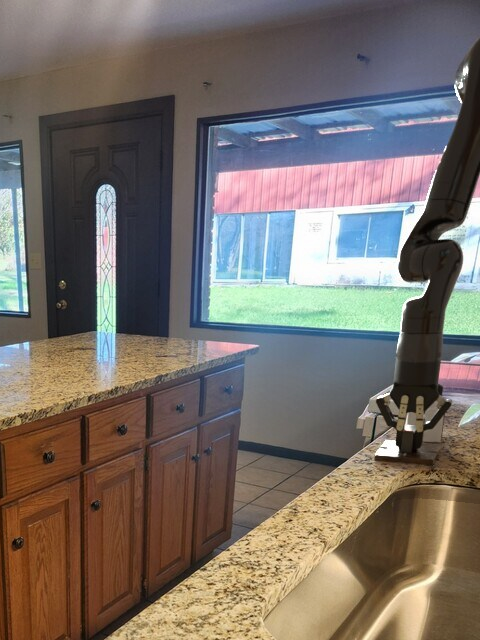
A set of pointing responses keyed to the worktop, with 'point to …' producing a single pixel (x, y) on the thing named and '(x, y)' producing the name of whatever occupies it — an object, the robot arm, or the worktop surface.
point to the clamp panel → (408, 454)
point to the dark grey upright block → (408, 439)
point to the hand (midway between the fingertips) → (408, 449)
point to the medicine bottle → (430, 434)
